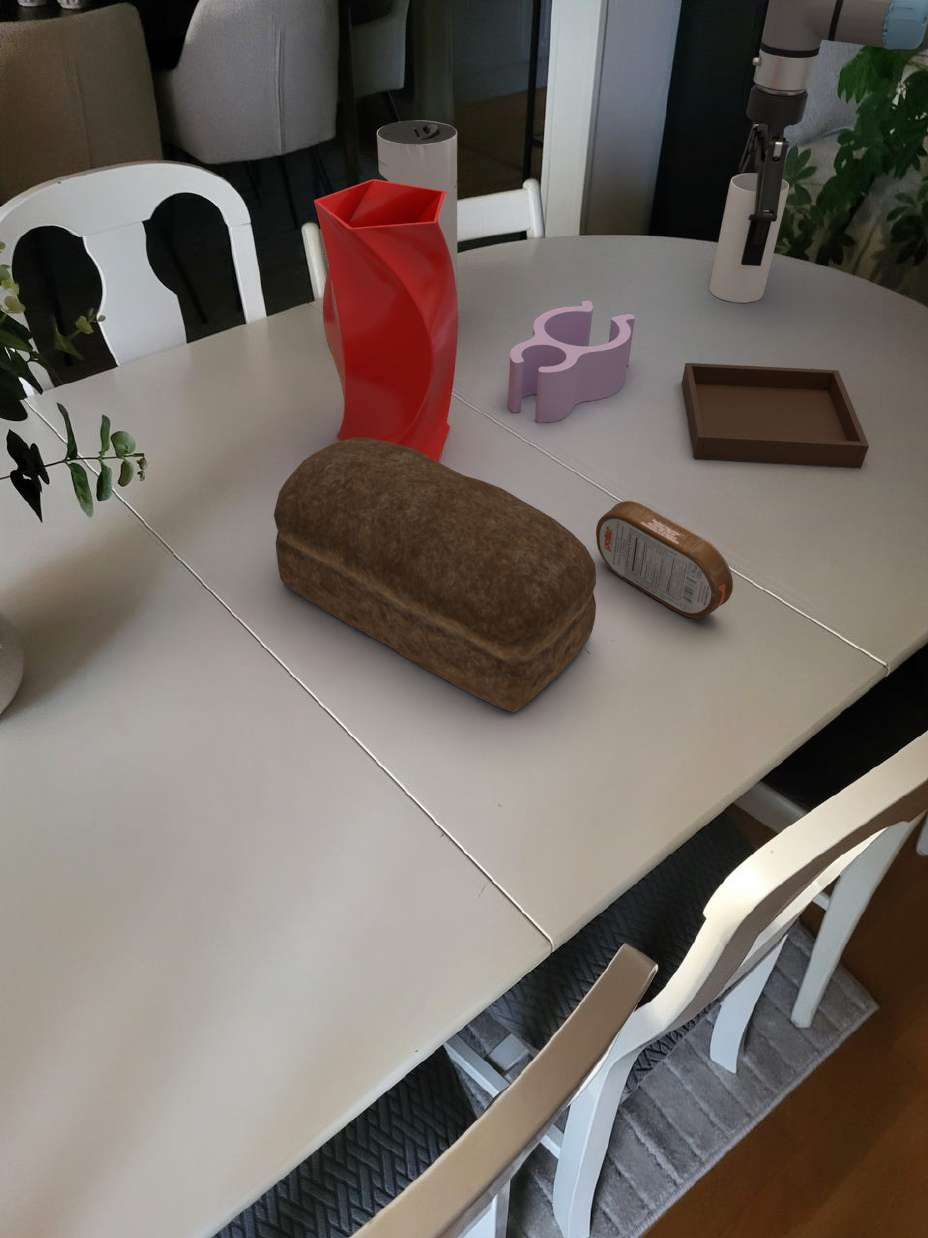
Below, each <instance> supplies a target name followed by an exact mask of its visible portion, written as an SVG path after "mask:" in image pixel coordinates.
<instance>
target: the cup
mask: <svg viewBox="0 0 928 1238" xmlns="http://www.w3.org/2000/svg"><path fill="white" fill-rule="evenodd" d="M757 175H758V173H746V174H740V173H739V174H736V175H734V176H733V177H731V179H730V182H729V186H728V190H727V191H728V192H727V195H726V201H725V205H724V206H725V207H724V212H723V217H722V221H721V227H720V232H719V238H718V241H717V242H718V243H717V247H716V251H715V252H716V253H715V256H714V262H713V267H712V273H711V277H710V281H709V282H710V283H709V288H708V289H709V292H710V293H711V295H713V296H715V297H716V298H718V299H720V300H723V301H726V302H729V303H736V304H737V303H739V304H744V303H745V304H746V303H753V302H757V301H759V300H761V299H762V298H763V297H764V294H765V290H766V286H767V281H768V277H769V274H770V269H771V265H772V261H773V256H774V253H775V248H776V245H777V240H778V237H779V232H780V228H781V224H782V219H783V216H784V211H785V207H786V203H787V199H788V194H789V190H790V184H789V183H788V181H787V180H785V179H784V178H782V184H781V191H780V198H779V205H778V212H777V220H776V221H775V222H771V225H770V229H769V234H768V238H767V242H766V246H765V250H764V254H763V258H762V262H761V266H750V265H741V260H742V256H743V252H744V247H745V243H746V238H747V234H748V230H749V225H750V221H751V220H748V217H749V215H750V214H754V210H755V198H756V187H757ZM763 212H769V210H764V211H763Z"/></svg>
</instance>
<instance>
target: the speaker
mask: <svg viewBox="0 0 928 1238" xmlns="http://www.w3.org/2000/svg"><path fill="white" fill-rule="evenodd" d="M376 141H377V160H378V180H383V181H389V182H394V183H400V184H406V185H412V186H418V187H423V188H430V189H436V190H442V191H446V194H445V197H444V200H443V203H442V206H441V209H440V214H439V223H440V227H441V230H442V233H443V235H444V238H445V240H446V243H447V246H448V249H449V253H450V257H451V261H452V265H453V270H454V276H455V283H456V292H457V307H459V304H458V303H459V299H458V296H459V295H458V294H459V293H458V292H459V291H458V290H459V289H458V131H457V129H456V128H455V127H454V126H452V125H450V124H447V123H443V122H437V121H434V120H433V121H432V120H424V119H423V120H422V119H421V120H402V121H396V122H391V123H388V124H385V125H384V126H381V127H380V128H379V129H377V131H376Z"/></svg>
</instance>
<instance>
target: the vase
mask: <svg viewBox="0 0 928 1238" xmlns="http://www.w3.org/2000/svg"><path fill="white" fill-rule="evenodd" d="M445 194H446V191H442V190H436V189H430V188H423V187H418V186H412V185H406V184H400V183H394V182H389V181H383V180H379V179H376V178H374V179H373V178H372V179H370V180H369V179H368V180H367V181H364V182H361V183H358V184H356V185H353V186H350V187H347V188H344V189H342V190H339V191H336V192H334V193H331V194H328V195H325V196H322V197H320V198H317V199H314V200H313V202H314V206H315V210H316V213H317V214H316V215H317V219H318V223H319V227H320V232H321V235H322V240H323V245H324V251H325V254H326V258H327V263H328V268H327V273H326V276H325V282H324V289H323V297H322V298H323V299H322V321H323V329H324V334H325V339H326V343H327V346H328V349H329V351H330V354H331V357H332V359H333V363H334V365H335V368H336V371H337V374H338V377H339V381H340V385H341V386H340V387H341V391H342V397H343V416H342V421H341V424H340V428H339V430H338V432H337V434H336V437H337V438H338V440H339V441H342V440H346V439H350V438H372V439H376V440H379V441H383V442H388V443H393V444H398V445H402V446H405V447H408V448H412V449H415V450H417V451H419V452H421V453H423V454H425V455H426V456H428V457H430V458H432V459H434V460H436V461H437V462H439V463H440V462H441V461H440V460H441V457H442V455H443V454H442V453H443V450H444V447H445V445H446V444H445V443H446V440H447V438H448V435H449V432H450V430H451V429H450V428H451V426H450V425H449V423H448V419H449V413H450V407H451V402H452V395H453V389H454V388H453V387H454V380H455V371H456V363H457V349H458V333H459V332H458V329H459V308H458V307H459V306H458V307H457V292H456V283H455V276H454V270H453V265H452V261H451V257H450V253H449V249H448V246H447V243H446V240H445V238H444V235H443V233H442V230H441V227H440V223H439V214H440V209H441V206H442V203H443V200H444V197H445Z"/></svg>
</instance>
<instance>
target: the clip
mask: <svg viewBox="0 0 928 1238" xmlns="http://www.w3.org/2000/svg"><path fill="white" fill-rule="evenodd" d="M593 312H594V306H593V302H592V301H590V300H582V301H581V303H580V305H578V306H573V305H572V306H564V307H558V308H553V309H551V310H547V311H545V312H544V313H542V314H540V315H539V316H538V317H537V318H536V319H535V320H534V322H533V327H532V337H531V338H530V339H528V340H525V341H522V342H520V343H518V344H516V345H514V346H513V348H511V350H510V353H509V367H508V369H509V370H508V392H507V407H508V410H509V411H510V413H513V414H514V413H515V414H516V413H520V412H521V411H522V399H524V398H525V397H527V396H530V395H536V400H535V411H534V412H535V413H534V421H535V422H536V423H541V424H542V423H544V424H545V423H554V422H558V421H560V420H563V419H565V418H567V417H568V416H569V415H570V414H571V413H572V411H573V409H574V407H575V406H576V405H578V404H581V403H584V402H592V401H599V400H603V399H606V398H608V397H611V396H613V395H615V394H617V393H618V392H619V391H620V390H621V389H622V387H623V385H624V382H625V375H626V368H628V367H629V363H630V357H631V356H630V355H631V349H632V342H633V335H634V328H635V322H636V316H635V315H634V314H631V313H627V314H619V315H615V316H612V317H611V318H610V328H609V336H608V342H607V343H604V344H600V345H590V337H591V329H592V321H593Z"/></svg>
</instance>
